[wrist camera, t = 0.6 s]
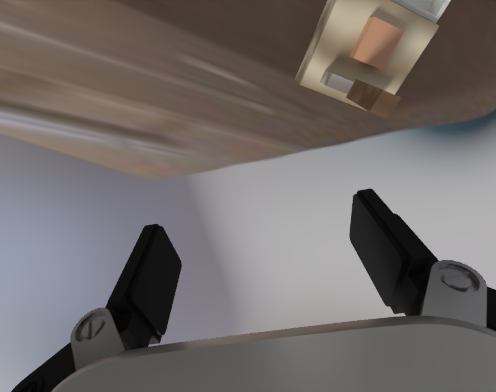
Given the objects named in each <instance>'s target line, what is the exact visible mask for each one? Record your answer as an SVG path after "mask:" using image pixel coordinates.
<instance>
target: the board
mask: <svg viewBox="0 0 496 392" xmlns="http://www.w3.org/2000/svg"><path fill="white" fill-rule="evenodd" d="M369 17H377V18H379V19H381V20H383V21H385V22H387V23H389V24H391V25H393V26H395V27H397V28H399V29H401V30H403V31H405V32H404V34H403V35H402V37H401V39H400V40H399V42H398V44H397V45H396V47H395V49H394V50H393V52H392V54H391V56H390V57H389V59H388V61H387V62H386V64H385V66H384V67H383V69H382V70H379V69H376V68H373V67H371V66H369V65H366V64H364V63H362V62H360V61H357V60H355V59H353V58H351V57H349V56H350V54H351V52H352V50H353V48H354V46H355V44H356V42H357V40H358V38H359V36H360V34H361V32H362V30H363V28H364V26H365V24H366V22H367V20H368V18H369ZM438 28H439V25H437V24H435V23H433V22H431V21H429V20H427V19H425V18H423V17H421V16H420V15H418V14H416V13H414V12H412V11H410V10H408V9H406V8H404V7H402V6H401V5H399V4H397V3H395V2H393V1H391V0H328V1H327V3H326V6H325V8H324V10H323V13H322V15H321V18H320V20H319V22H318V25H317V27H316V30H315V32H314V35H313V37H312V39H311V42H310V44H309V47H308V49H307V51H306V54H305V56H304V59H303V61H302V64H301V66H300V68H299V71H298V73H297V76H296V78H295V81H297V82H298V83H299V84H300V85H303V86H305V87H308V88H310V89H313V90H315V91H318V92H321V93H323V94H326V95H328V96H331V97H333V98H336V99H338V100H341V101H344V102H346V103H349V104H351V105H354V106H356V107H359V108H362V107H361V106H359V105H357V104H356V103H354V102H352V101H351V100H349V99H347V98H346V96H347V94H345V93H342V92H340V91H337V90H335V89H332V88H330V87H327V86H325V85H324V84H322V83H320V80H321V78H322V76H323V74H324V72H325V70H326V71H329V72H331V73H334V74H336V75H338V76H341V77H343V78H346V79H348V80H350V81H353V82H355V80H356V79H357V80H360V81H362V82H365V83H367V84H370V85H372V86H375V87H377V88H380V89H382V90H385V91H387V92H389V93H392V94H394V95H395V93H396V92H397V90H398V89H399V87H400V85H401V84H402V82H403V81H404V79H405V78H406V76H407V75H408V73H409V72H410V70H411V69H412V67H413V66H414V64H415V63H416V61H417V60H418V58H419V57H420V55H421V53H422V52H423V50H424V49H425V47H426V46H427V44H428V43H429V41H430V40H431V38H432V37H433V35H434V34H435V32H436V31H437V29H438ZM362 109H364V108H362ZM364 110H366V109H364Z"/></svg>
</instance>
